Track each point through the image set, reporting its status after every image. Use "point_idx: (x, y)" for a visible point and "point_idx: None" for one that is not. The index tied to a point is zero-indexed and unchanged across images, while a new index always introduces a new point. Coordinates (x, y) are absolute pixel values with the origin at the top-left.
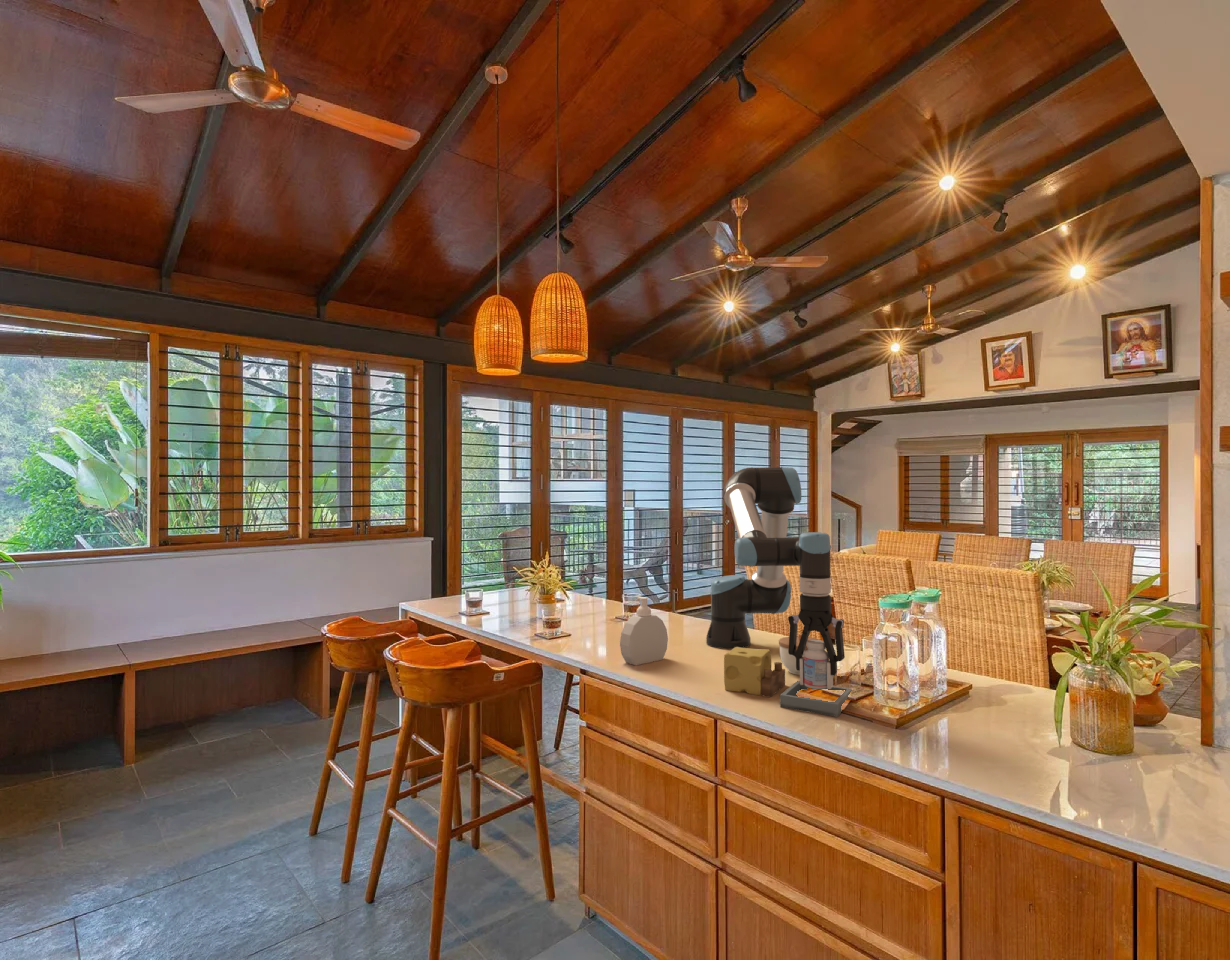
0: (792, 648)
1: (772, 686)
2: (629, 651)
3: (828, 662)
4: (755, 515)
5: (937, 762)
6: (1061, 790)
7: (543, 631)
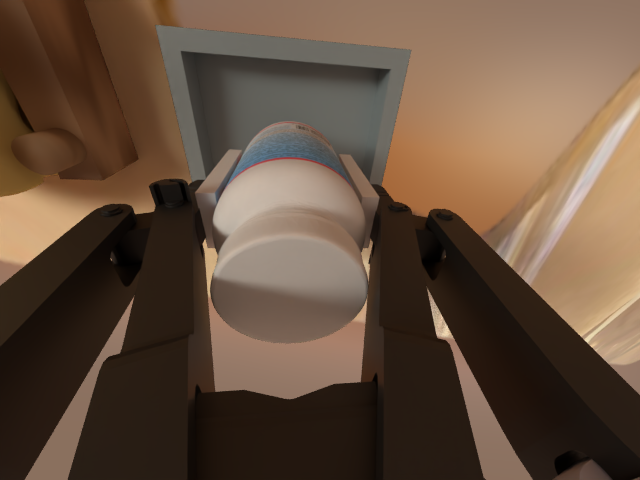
0: (135, 284)
1: (111, 141)
2: None
3: None
4: None
5: None
6: (607, 320)
7: None
